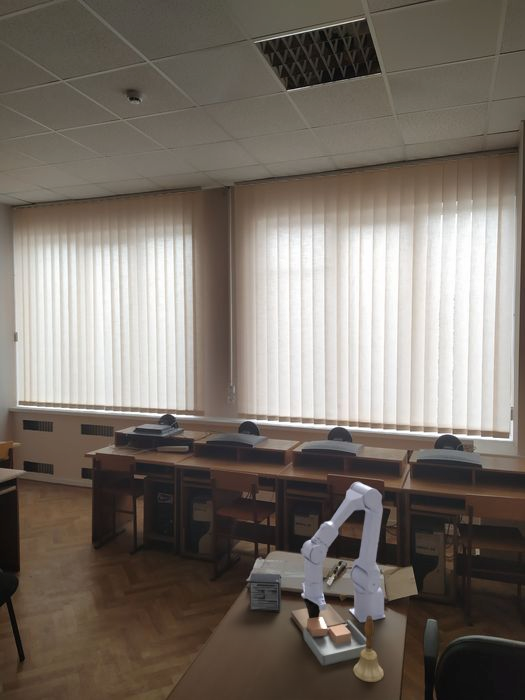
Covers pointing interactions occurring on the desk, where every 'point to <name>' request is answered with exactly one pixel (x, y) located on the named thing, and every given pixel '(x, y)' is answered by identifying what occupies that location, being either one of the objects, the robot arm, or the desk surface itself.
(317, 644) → the tray
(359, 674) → the hand bell
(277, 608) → the small box
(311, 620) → the tile far
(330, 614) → the plate
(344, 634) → the tile near
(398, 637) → the desk surface
